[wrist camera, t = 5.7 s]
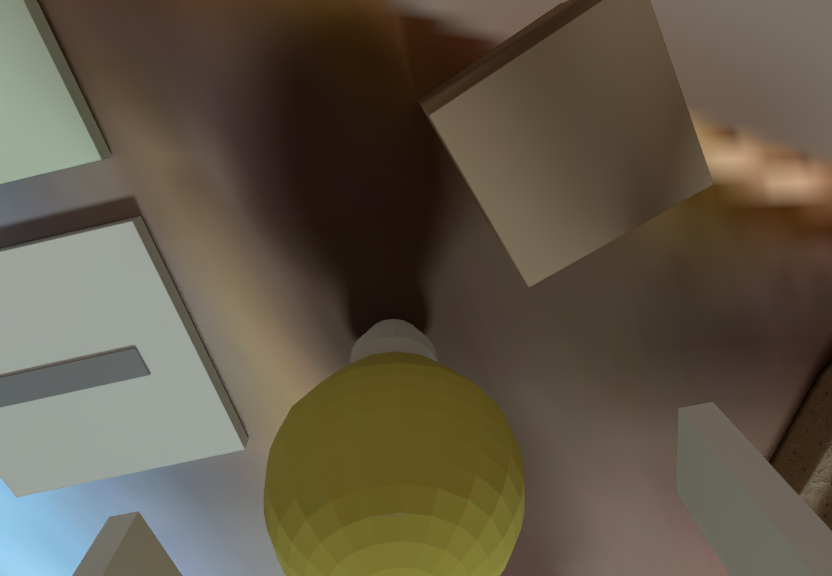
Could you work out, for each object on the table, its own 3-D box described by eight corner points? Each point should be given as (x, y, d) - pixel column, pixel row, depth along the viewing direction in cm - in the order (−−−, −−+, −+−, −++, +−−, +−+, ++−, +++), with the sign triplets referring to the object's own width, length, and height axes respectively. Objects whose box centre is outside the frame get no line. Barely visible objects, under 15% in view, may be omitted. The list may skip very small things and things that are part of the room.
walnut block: (491, 228, 17) (528, 287, 12) (416, 100, 15) (429, 115, 10) (621, 150, 16) (713, 183, 11) (560, 4, 14) (640, -25, 10)
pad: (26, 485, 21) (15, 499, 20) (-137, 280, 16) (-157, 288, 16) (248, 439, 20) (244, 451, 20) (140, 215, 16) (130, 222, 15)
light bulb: (417, 231, 17) (454, 426, 8) (508, 362, 19) (616, 625, 10) (269, 326, 18) (150, 591, 9) (372, 438, 21) (361, 731, 11)
